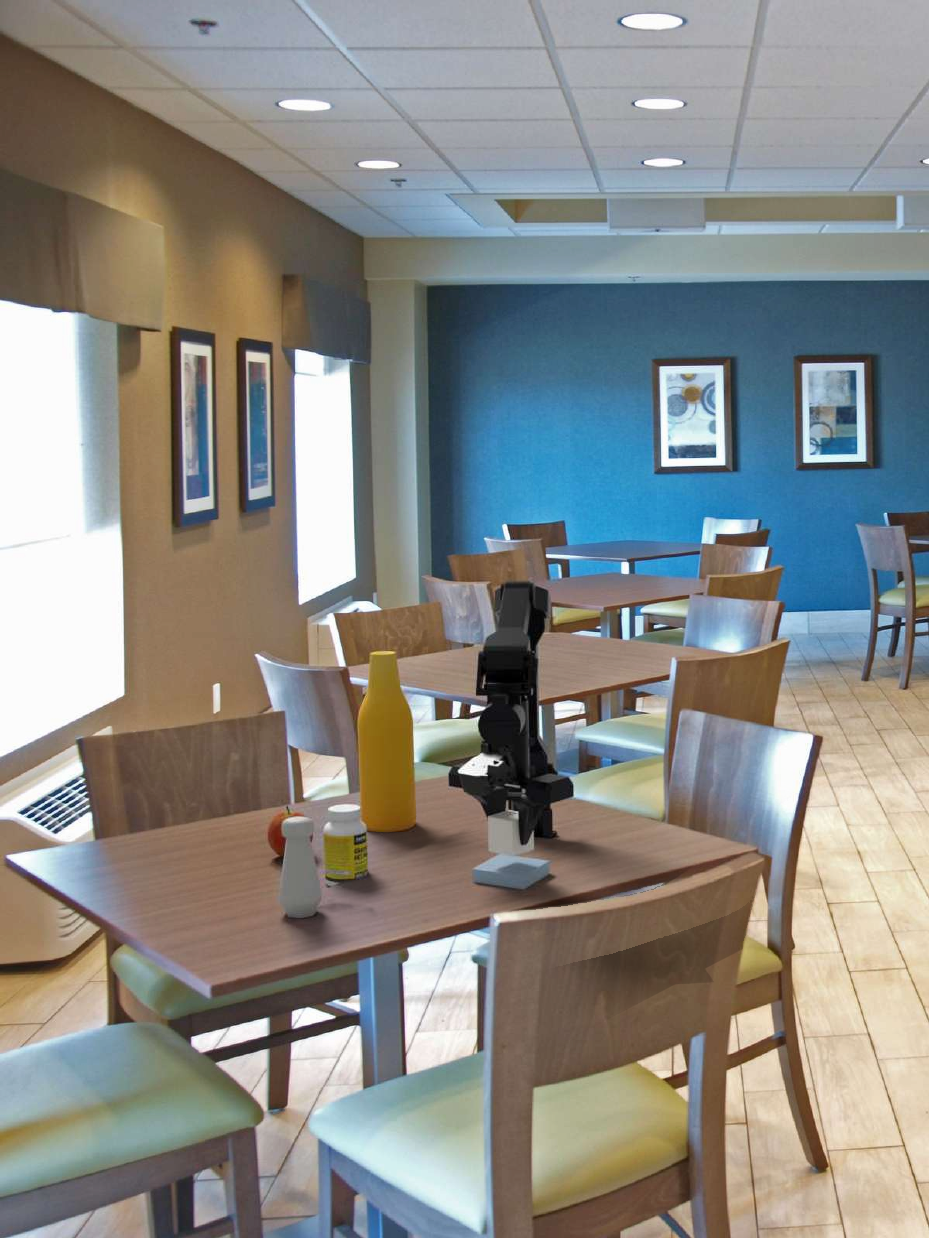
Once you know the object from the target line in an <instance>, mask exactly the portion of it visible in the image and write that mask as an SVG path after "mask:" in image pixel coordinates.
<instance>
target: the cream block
mask: <svg viewBox="0 0 929 1238" xmlns="http://www.w3.org/2000/svg"><path fill="white" fill-rule="evenodd" d="M487 834H488V835H487V836H488V837H487V838H488V841H487V842H488V852H491V853H494V854H498V855H499V854H503V855H508V856H512V857H514V856H520V855H522V854H525V853H528V852H531V851H534V850H535V842H534V841H535V837H534V830H533V832H532V834H531V837H530V839H529V841H528V843H527V844H526V845H521V843H520V836H519V817H518V812H517V811H512V810H508V809H506V810H505V811H504V812H500V813H497V814H494V815H491V816H488V820H487Z"/></svg>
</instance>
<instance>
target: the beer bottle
mask: <svg viewBox="0 0 929 1238" xmlns="http://www.w3.org/2000/svg"><path fill="white" fill-rule="evenodd" d="M398 665H399V664H398V660H397V653H396V651H390V650H385V651H384V650H380V651H379V650H378V651H373V652H370V653H369V667H368V681H367V690H366V693H365V695H364V698H363V700H362V703H361V705H360V708H359V711H358V715H357V716H358V717H357V740H358V741H357V743H358V745H357V746H358V767H359V769H358V771H359V797H360V801H359V802H360V805H359V806H360V807H361V817H360V821H362V822H363V823H364V824H365V825H366V828H367V831H369V832H373V833H374V832H377V833H395V832H401V831H406V830H409V829H411V828H413V827H414V826H415V825H416V821H417V803H416V778H415V775H416V773H415V750H414V749H415V746H414V745H415V743H414V740H415V739H414V719H413V714H412V713H413V712H412V710H411V708H410V704H409V702H408V700H407V698H406V697H405V694H404V693H403V691H402V687H401V680H400V672H399V666H398Z"/></svg>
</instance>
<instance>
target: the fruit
mask: <svg viewBox="0 0 929 1238" xmlns="http://www.w3.org/2000/svg"><path fill="white" fill-rule="evenodd" d="M285 808H286V811H287V812H281V813H278V814H277V815H275V816H274V817H273V818H272V819H271V821H270V823H269V825H268V827H267V841H268V845H269V847H270V848H271V849H272V851H273V852H275V854H277V856H280V857H282V858H284V853H285V846H286V838H285V837H283V835H282V830H281V828H282V822H283V821H284V820H285V819H287V818H291V817H297V816H298V817H307V816H306V815H305V814H303V813H300V812H297V811H294V812H293V811H290V809H289V806H288V805H286V806H285ZM313 838H314V834H313V835H311V836H310V840H311V844H312V842H313V840H314V839H313Z"/></svg>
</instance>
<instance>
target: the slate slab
mask: <svg viewBox="0 0 929 1238" xmlns="http://www.w3.org/2000/svg"><path fill="white" fill-rule="evenodd" d="M550 868H551V867H550V860H546V859H545V860H544V859H539V858H533V857H532V858H531V857H525V856H519V855H517V856H514V857H512V856H508V855H503V854H499V853H498V854H497V855H495V856H494V857H493V856H492V858H489V859H488V860H486V861H485V862H482V863H481V864H479V865H477V866H475V867H473V868H472V870H471V871H472V883H478V884H484V885H492V886H500V887H504V888H512V889H519V890H526V888H528V887H530V886H531V885H533V884H535V883H537V882H538V881H540V880H541V879H543V878H545V877H547V876H548V875H550V872H551V871H550V870H551V869H550Z"/></svg>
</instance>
